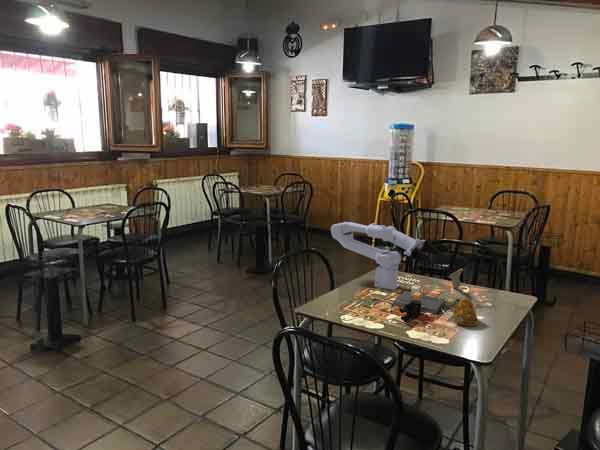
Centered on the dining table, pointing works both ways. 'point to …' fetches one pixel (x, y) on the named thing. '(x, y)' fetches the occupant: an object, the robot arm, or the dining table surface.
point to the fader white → (415, 289)
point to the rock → (465, 313)
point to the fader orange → (417, 296)
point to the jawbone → (457, 283)
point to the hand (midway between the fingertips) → (433, 256)
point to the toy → (411, 310)
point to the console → (427, 302)
